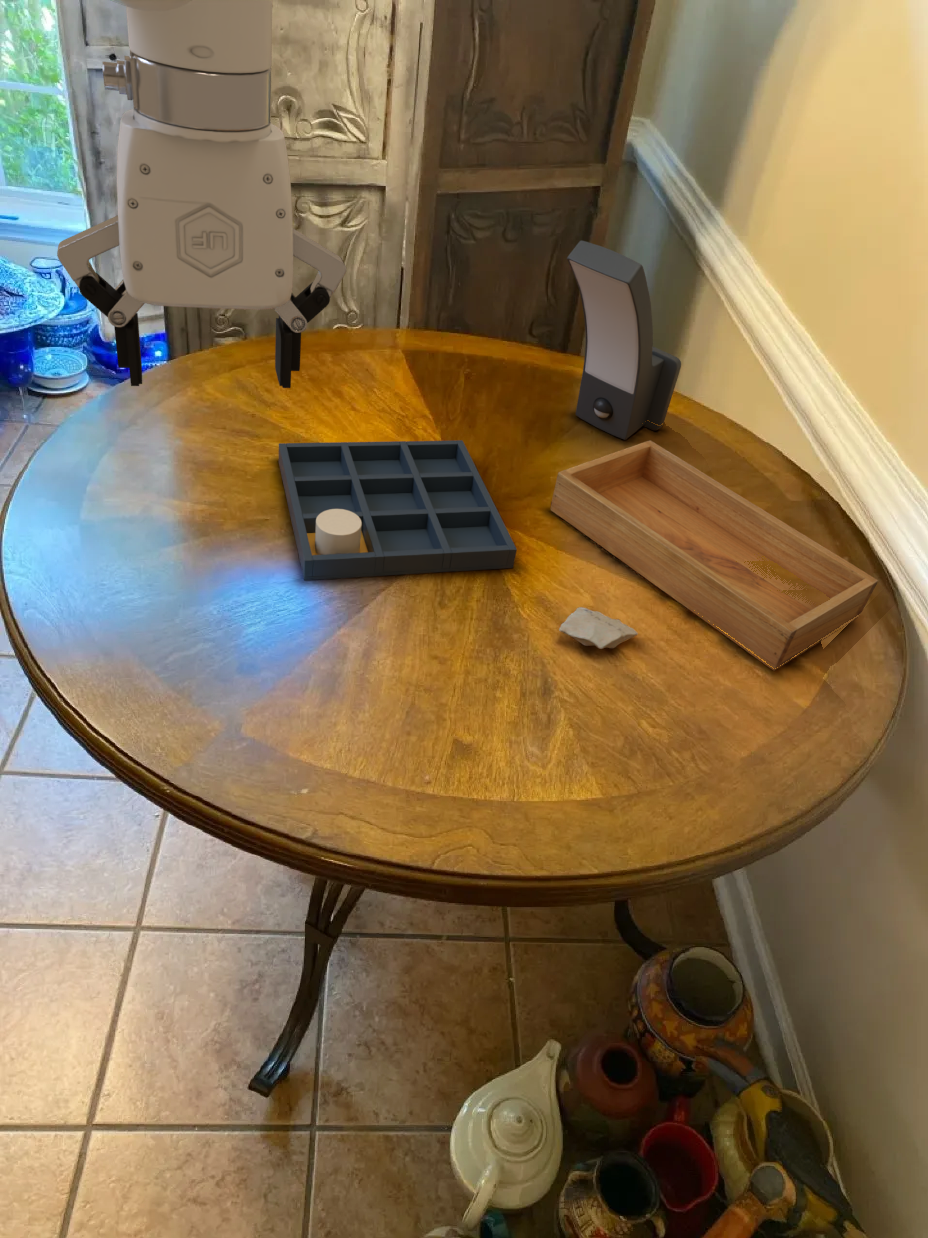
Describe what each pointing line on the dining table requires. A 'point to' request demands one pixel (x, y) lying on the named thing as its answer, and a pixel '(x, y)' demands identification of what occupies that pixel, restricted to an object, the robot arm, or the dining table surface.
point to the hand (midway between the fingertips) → (211, 377)
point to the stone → (596, 629)
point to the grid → (394, 507)
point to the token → (337, 532)
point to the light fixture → (619, 345)
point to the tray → (710, 549)
